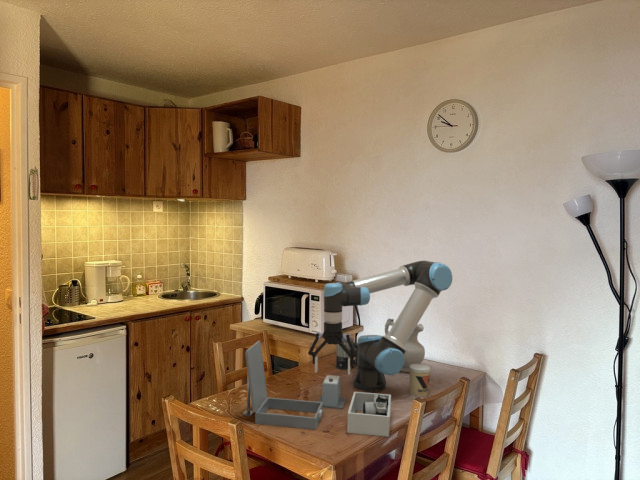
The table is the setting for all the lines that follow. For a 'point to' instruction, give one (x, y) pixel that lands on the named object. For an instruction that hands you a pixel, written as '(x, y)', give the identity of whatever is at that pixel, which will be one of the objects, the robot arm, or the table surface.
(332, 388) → the block
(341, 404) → the mat
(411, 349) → the ceramic pitcher
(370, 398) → the crate
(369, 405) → the camera
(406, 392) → the table surface
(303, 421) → the case
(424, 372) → the coffee cup
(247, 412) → the stay rod
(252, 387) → the lid
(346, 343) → the milk frother
